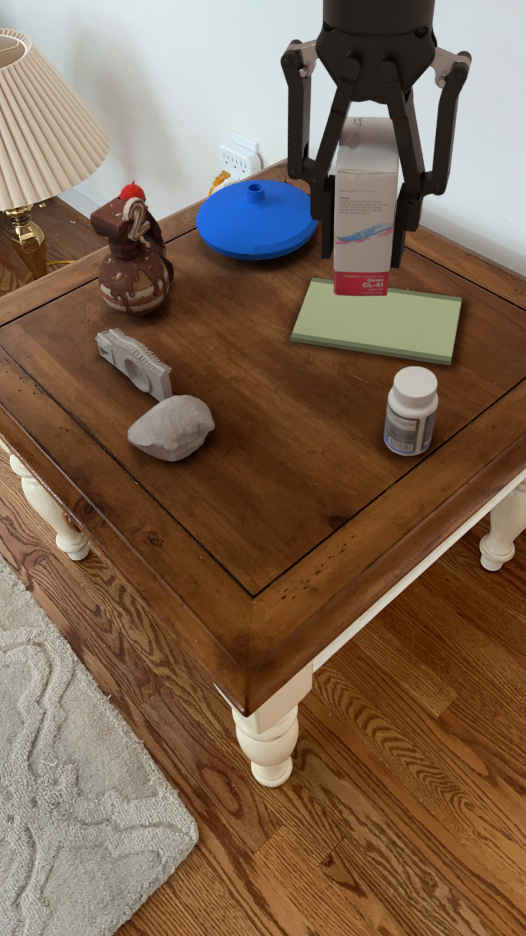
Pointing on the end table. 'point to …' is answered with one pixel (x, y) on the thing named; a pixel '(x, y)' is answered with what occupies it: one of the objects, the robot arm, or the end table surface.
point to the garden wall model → (136, 363)
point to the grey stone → (172, 428)
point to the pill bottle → (411, 411)
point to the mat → (380, 322)
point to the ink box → (365, 206)
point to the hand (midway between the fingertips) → (362, 253)
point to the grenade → (132, 254)
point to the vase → (256, 220)
